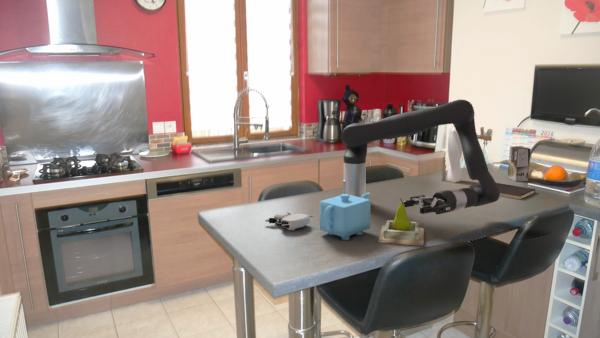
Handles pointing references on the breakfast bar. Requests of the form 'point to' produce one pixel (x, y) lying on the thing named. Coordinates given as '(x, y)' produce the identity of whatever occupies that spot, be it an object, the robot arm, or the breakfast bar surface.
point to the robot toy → (290, 220)
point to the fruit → (401, 219)
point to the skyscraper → (453, 158)
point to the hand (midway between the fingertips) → (412, 207)
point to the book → (511, 190)
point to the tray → (402, 234)
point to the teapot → (345, 215)
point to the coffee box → (519, 163)
